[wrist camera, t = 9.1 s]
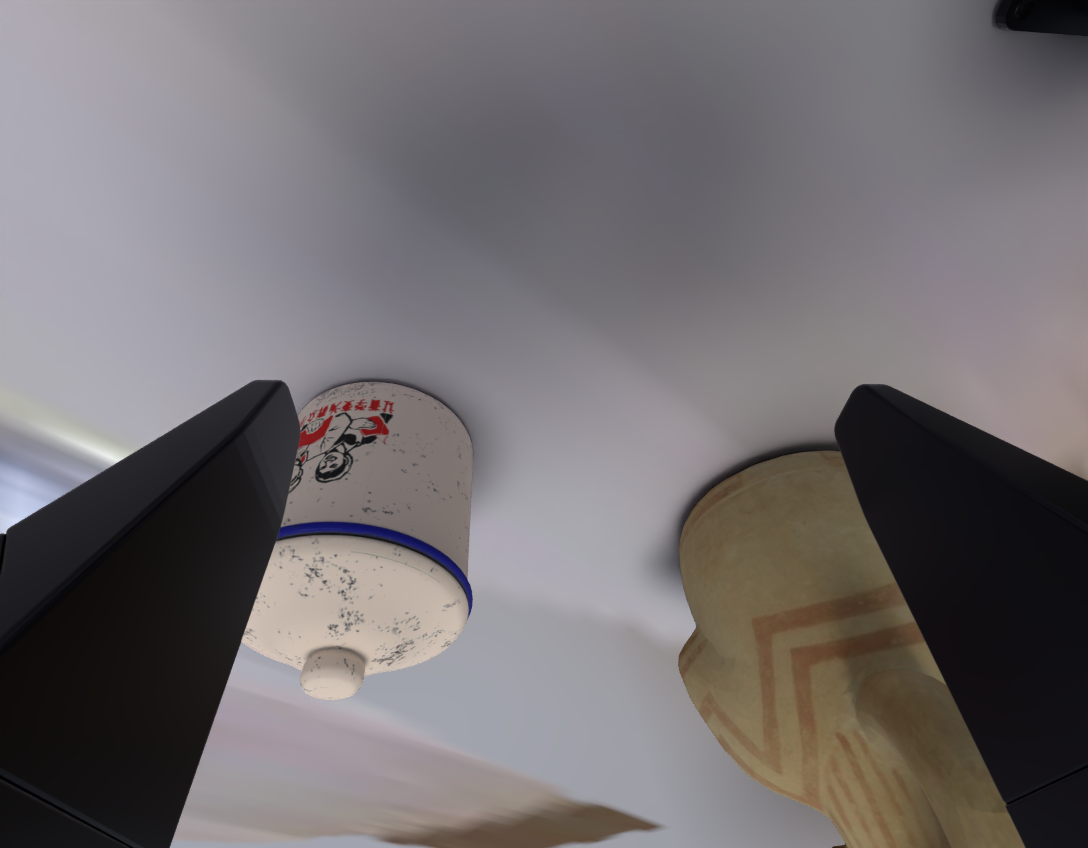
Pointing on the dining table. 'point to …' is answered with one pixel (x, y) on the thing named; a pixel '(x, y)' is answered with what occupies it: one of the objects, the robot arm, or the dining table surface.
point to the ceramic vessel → (826, 664)
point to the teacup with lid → (369, 540)
